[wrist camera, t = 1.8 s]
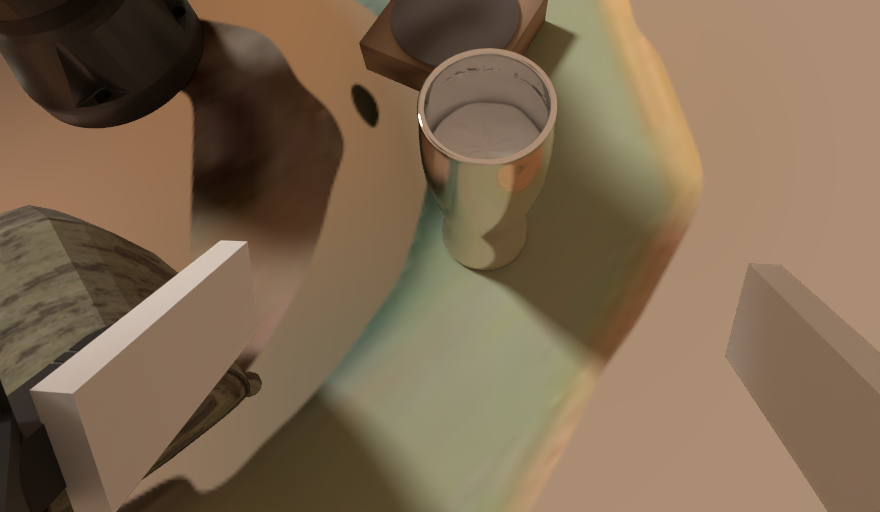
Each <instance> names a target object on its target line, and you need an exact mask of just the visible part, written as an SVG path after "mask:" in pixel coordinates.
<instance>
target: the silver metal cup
mask: <svg viewBox="0 0 880 512" xmlns="http://www.w3.org/2000/svg"><path fill="white" fill-rule="evenodd" d="M417 115H418V120H419V143H420V151H421V159H422V165H423V169H424V173H425V177H426V180H427V183H428V186H429V188H430V190H431V192H432V194H433V197H434V199H435V200H436V202H437V204H438V205H439V207H440V209H441V210H442V212H443V214H444V215H445V217H444V221H443V229H442V233H443V240H444V244H445V246H446V248H447V250H448V252H449V253H450V254H451V255H452V257H453V258H454V259H456V260H457V261H458V262H459V263H461V264H463V265H464V266H467V267H469V268H472V269H476V270H493V269H497V268H500V267H503V266H505V265H507V264H508V263H510V262H511V261H512V260H514V259H515V258H516V257H517V255H518V254H519V253H520V252H521V250H522V248H523V246H524V244H525V241H526V237H527V223H526V218H525V216H526V214H527V213H528V211H529V210H530V208H531V207H532V205H533V204H534V202H535V200H536V199H537V197H538V195H539V193H540V191H541V189H542V187H543V185H544V182H545V180H546V176H547V173H548V169H549V166H550V162H551V156H552V150H553V143H554V133H555V120H556V116H557V97H556V92H555V89H554V87H553V84H552V82H551V81H550V79H549V77H548V76H547V75H546V73H545V72H544V71H543V70H542V69H541V68H540V67H539V66H538V65H537V64H535V63H534V62H533V61H531V60H530V59H528V58H526V57H524V56H522V55H520V54H517V53H515V52H511V51H508V50H503V49H495V48H483V49H474V50H470V51H466V52H462V53H460V54H457V55H455V56H453V57H451V58H449V59H447V60H446V61H444V62H443V63H441V64H440V65H439V66H437V67H436V68H435V69H434V70H433V71H432V72H431V73H430V75H429V76H428V77H427V79H426V80H425V82H424V84H423V85H422V88H421V90H420V93H419V96H418V102H417Z"/></svg>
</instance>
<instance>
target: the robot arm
mask: <svg viewBox="0 0 880 512" xmlns="http://www.w3.org/2000/svg"><path fill="white" fill-rule="evenodd" d="M202 48H203V31H202V27H201V23H200V21H199V19H198V17H197V15H196V13H195V12H194V10H193V9H192V7H191V6H190V4H189V2H188V1H187V0H0V53H1V54H2V56H3V58H4V59H5V61H6V62H7V64H8V66H9V67H10V69H11V71H12V72H13V74H14V76H15V77H16V79H17V81H18V82H19V84H20V85H21V87H22V88H23V90H24V91H25V92H26V93H27V94H28V95H29V97H30V98H31V99H33V100H34V101H35V102H36V103H38V104H39V105H40V106H41V107H42V108H44V109H45V110H46V111H47V112H48V113H50V114H51V115H52V116H54V117H55V118H57V119H58V120H60V121H62V122H64V123H67V124H70V125H73V126H78V127H83V128H106V127H114V126H119V125H123V124H126V123H129V122H132V121H135V120H137V119H140V118H142V117H144V116H146V115H148V114H150V113H152V112H154V111H155V110H157V109H158V108H160V107H162V106H163V105H164V104H166V103H167V102H168V101H170V100H171V99H172V98H173V97H174V96H175V95H176V94H177V93H178V92H179V91H180V90H181V89H182V88H183V87H184V86H185V84H186V83H187V82H188V81H189V79H190V78H191V76H192V75H193V73H194V71H195V69H196V67H197V65H198V63H199V60H200V57H201V53H202ZM259 329H260V322H259V315H258V308H257V302H256V295H255V289H254V282H253V275H252V269H251V262H250V255H249V249H248V242H246V241H223V240H221V241H219V242H218V243H217V244H216V245H214V246H213V247H212V248H210V249H209V250H208V251H207V252H205V253H204V254H203V255H202V256H200V257H199V258H198V259H196V260H195V261H194V262H193V263H191V264H190V265H189V266H187V267H186V268H185V269H184V270H183V271H181V272H180V273H179V274H177V275H176V276H175V277H173V278H172V279H171V280H170V281H168V282H167V283H166V284H164V285H163V286H162V287H161V288H159V289H158V290H157V291H156V292H154V293H153V294H152V295H150V296H149V297H148V298H147V299H145V300H144V301H143V302H142V303H140V304H139V305H138V306H136V307H135V308H134V309H133V310H131V311H130V312H129V313H127V314H126V315H125V316H124V317H122V318H121V319H120V320H119V321H117V322H116V323H115V324H110V325H108V326H106V327H104V328H101V329H99V330H97V331H95V332H93V333H91V334H89V335H87V336H86V337H84V338H83V339H82V340H80V341H79V342H78V343H76V344H75V345H74V346H72V347H71V348H70V349H69V352H64V353H63V354H62V355H61V356H59V357H58V358H57V359H55V360H54V363H53V364H49V365H47V366H46V367H45V368H43V369H42V370H41V371H39V372H38V373H37V374H36V375H34V376H33V377H32V378H30V379H29V380H28V381H26V382H25V383H24V384H22V385H21V386H20V387H18V388H17V389H16V390H14V391H13V392H12V393H11V394H9V395H8V396H7V395H6V393H5V390H4V388H3V385H2V382H1V380H0V512H52V510H51V508H50V504H51V503H52V502H53V501H54V500H55V499H56V498H57V497H58V495H59V494H60V493H61V492H62V491H63V490H64V489H66V491H67V494H68V497H69V499H70V502H71V505H72V508H73V510H74V512H117V510H118V509H119V508H120V506H121V505H122V504H123V503H124V501H125V500H126V499H127V498H128V496H129V495H130V494H131V492H132V491H133V490H134V489H135V487H136V486H137V484H138V483H139V482H140V481H141V480H142V478H143V477H144V476H145V475H146V473H147V472H148V471H149V470H150V468H151V467H152V466H153V464H154V463H155V462H156V461H157V459H158V458H159V457H160V455H161V454H162V453H163V452H164V450H165V449H166V448H167V447H168V445H169V444H170V443H171V441H172V440H173V439H174V438H175V436H176V435H177V434H178V433H179V431H180V430H181V429H182V427H183V426H184V425H185V424H186V422H187V421H188V420H189V419H190V417H191V416H192V415H193V413H194V412H195V411H196V410H197V408H198V407H199V406H200V405H201V403H202V402H203V401H204V399H205V398H206V397H207V396H208V394H209V393H210V392H211V391H212V389H213V388H214V387H215V385H216V384H217V383H218V382H219V380H220V379H221V378H222V377H223V375H224V374H225V373H226V371H227V370H228V369H229V368H230V366H231V365H232V364H233V363H234V361H235V360H236V359H237V357H238V356H239V355H240V354H241V352H242V351H243V350H244V349H245V347H246V346H247V345H248V343H249V342H250V341H251V340H252V338H253V337H254V336H255V335H256V333H257V332H258V331H259ZM726 358H727V359H728V360H729V362H730V364H731V365H732V367H733V368H734V370H735V371H736V373H737V374H738V376H739V377H740V379H741V380H742V382H743V383H744V385H745V386H746V388H747V389H748V391H749V393H750V394H751V396H752V397H753V399H754V400H755V402H756V403H757V405H758V406H759V408H760V409H761V411H762V412H763V414H764V415H765V417H766V418H767V420H768V421H769V423H770V424H771V426H772V427H773V429H774V430H775V432H776V433H777V435H778V436H779V438H780V439H781V441H782V443H783V444H784V445H785V447H786V449H787V450H788V452H789V453H790V454H791V456H792V458H793V459H794V461H795V462H796V464H797V465H798V467H799V468H800V470H801V471H802V473H803V474H804V476H805V477H806V479H807V480H808V482H809V484H810V485H811V487H812V488H813V490H814V491H815V493H816V494H817V496H818V497H819V499H820V500H821V502H822V503H823V504H824V506H825V508H826V509H827V511H828V512H880V352H878V351H877V350H876V349H875V348H874V347H873V346H872V345H871V344H869V343H868V342H867V341H866V340H865V339H864V338H863V337H862V336H861V335H859V334H858V333H857V332H856V331H855V330H854V329H853V328H851V327H850V326H849V325H848V324H847V323H846V322H844V320H842V319H841V318H840V317H839V316H838V315H837V314H836V313H835V312H833V311H832V310H831V309H830V308H829V307H828V306H827V305H825V304H824V303H823V302H822V301H821V300H820V299H819V298H818V297H817V296H815V295H814V294H813V293H812V292H811V291H810V290H809V289H807V288H806V287H805V286H804V285H803V284H802V283H801V282H800V281H798V280H797V279H796V278H795V277H794V276H793V275H792V274H791V273H789V272H788V271H787V270H786V269H785V268H784V267H783V266H782V265H771V264H748V268H747V272H746V276H745V280H744V284H743V288H742V292H741V296H740V301H739V304H738V308H737V312H736V316H735V320H734V324H733V328H732V332H731V336H730V340H729V344H728V348H727V351H726Z"/></svg>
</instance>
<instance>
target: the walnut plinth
mask: <svg viewBox="0 0 880 512" xmlns="http://www.w3.org/2000/svg"><path fill="white" fill-rule="evenodd" d="M547 2H548V0H391V1H390V2H389V3H388V5H387V6H386V8H385V9H384V10H383V12H382V13H381V14H380V16H379V17H378V18H377V20H376V21H375V23H374V24H373V25H372V27H371V28H370V29H369V30H368V32H367V33H366V35H365V36H364V37H363V39H362V40H361V41H360V43H359V44H360V47H361V51H362V54H363V58H364V61H365V65H366V68H367V69H368V70H370V71H373V72H375V73H378V74H380V75H382V76H384V77H387V78H389V79H392V80H394V81H396V82H399V83H401V84H403V85H406V86H408V87H410V88H413V89H415V90H417V91H420V90H421V88H422V85H423V84H424V82H425V80H426V79H427V77H428V76H429V75H430V73H431V72H432V71H433V70H434V69H435V68H436V67H437V66H439V65H440V64H441V63H443V62H444V61H446V60H447V59H449V58H451V57H453V56H455V55H457V54H460V53H462V52H466V51H470V50H474V49H483V48H495V49H503V50H508V51H511V52H515V53H517V54H520V55H522V56H523V55H524V53H525V52H526V50H527V48H528V47H529V45H530V44H531V42H532V40H533V39H534V37H535V35H536V34H537V32H538V31H539V29H540V27H541V26H542V24H543V22H544V21H545V16H546V9H547Z"/></svg>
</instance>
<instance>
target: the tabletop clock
mask: <svg viewBox="0 0 880 512" xmlns="http://www.w3.org/2000/svg"><path fill="white" fill-rule="evenodd" d="M177 274H179V273H177V272H176V271H175V270H174V269H172V268H171V267H170V266H169V265H168V264H166V263H165V262H164V261H163V260H162V259H160V258H159V257H158V256H157V255H155V254H154V253H152V252H150V251H148V250H146V249H144V248H142V247H140V246H138V245H136V244H134V243H132V242H130V241H128V240H126V239H124V238H122V237H120V236H118V235H116V234H114V233H112V232H109V231H107V230H105V229H102V228H100V227H97V226H95V225H92V224H90V223H88V222H85V221H83V220H81V219H78V218H76V217H73V216H70V215H68V214H65V213H62V212H59V211H56V210H52V209H47V208H41V207H36V206H30V205H28V206H25V207H21V208H18V209H14V210H11V211H8V212H5V213H1V214H0V380H1V382H2V385H3V388H4V390H5V393H6V395H7V396H8V395H9V394H11V393H12V392H13V391H14V390H16V389H17V388H18V387H20V386H21V385H22V384H24V383H25V382H26V381H28V380H29V379H30V378H32V377H33V376H34V375H36V374H37V373H38V372H39V371H41V370H42V369H43V368H45V367H46V366H47V365H49V364H53V363H54V360H55V359H57V358H58V357H59V356H61V355H62V354H63V353H64V352H69V349H70V348H71V347H72V346H74V345H75V344H76V343H78V342H79V341H80V340H82V339H83V338H84V337H86V336H87V335H89V334H91V333H93V332H95V331H97V330H99V329H101V328H104V327H106V326H108V325H110V324H115V323H116V322H117V321H119V320H120V319H121V318H122V317H124V316H125V315H126V314H127V313H129V312H130V311H131V310H133V309H134V308H135V307H136V306H138V305H139V304H140V303H142V302H143V301H144V300H145V299H147V298H148V297H149V296H150V295H152V294H153V293H154V292H156V291H157V290H158V289H159V288H161V287H162V286H163V285H164V284H166V283H167V282H168V281H170V280H171V279H172V278H173V277H175V276H176V275H177ZM261 385H262V381H261V379H260V377H259V376H258V374H256V373H253V372H245V373H243V372H242V370H241V368H240V367H239V365H238V364H237V362H236V360H235V361H234V363H233V364H232V365H231V366H230V368H229V369H228V370H227V371H226V373H225V374H224V375H223V377H222V378H221V379H220V380H219V382H218V383H217V384H216V385H215V387H214V388H213V389H212V391H211V392H210V393H209V394H208V396H207V397H206V398H205V399H204V401H203V402H202V403H201V405H200V406H199V407H198V408H197V410H196V411H195V412H194V413H193V415H192V416H191V417H190V419H189V420H188V421H187V422H186V424H185V425H184V426H183V427H182V429H181V430H180V431H179V433H178V434H177V435H176V436H175V438H174V439H173V440H172V441H171V443H170V444H169V445H168V447H167V448H166V449H165V450H164V452H163V453H162V454H161V455H160V457H159V458H158V459H157V461H156V462H155V463H154V464H153V466H152V467H151V468H150V470H149V471H148V472H147V473H146V475H145V476H144V477H143V478H142V479H144V478H145V477H147V476H148V475H149V474H151V473H152V472H153V471H155V470H156V469H158V468H159V467H161V466H162V465H163V464H165V463H166V462H168V461H169V460H170V459H172V458H173V457H174V456H175V455H177V454H178V453H179V452H181V451H182V450H183V449H184V448H186V447H187V446H188V445H190V443H192V442H193V441H195V440H196V439H197V438H199V437H200V436H201V435H202V434H204V433H205V432H206V431H207V430H209V429H210V428H211V427H212V426H214V425H215V424H216V423H217V422H219V421H220V420H221V419H223V418H224V417H225V416H226V415H227V414H229V413H230V412H231V411H232V410H233V409H234V408H235V407H237V406H238V405H239V404H240V402H241V401H242V400H243V399H244V398H245V397H251V396H253V395H256V394H257V393H258V391H259V390H260V388H261ZM50 508H51V510H52V512H74V510H73V508H72V505H71V502H70V499H69V497H68V494H67V491H66V489H64V490H63V491H62V492H61V493H60V494H59V495H58V497H57V498H56V499H55V500H54V501H53V502H52V503H51V504H50Z"/></svg>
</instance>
